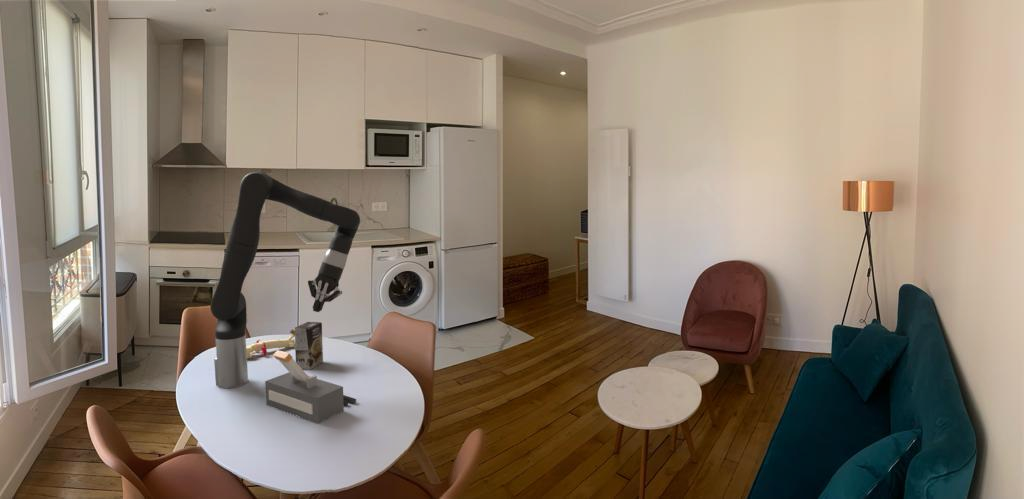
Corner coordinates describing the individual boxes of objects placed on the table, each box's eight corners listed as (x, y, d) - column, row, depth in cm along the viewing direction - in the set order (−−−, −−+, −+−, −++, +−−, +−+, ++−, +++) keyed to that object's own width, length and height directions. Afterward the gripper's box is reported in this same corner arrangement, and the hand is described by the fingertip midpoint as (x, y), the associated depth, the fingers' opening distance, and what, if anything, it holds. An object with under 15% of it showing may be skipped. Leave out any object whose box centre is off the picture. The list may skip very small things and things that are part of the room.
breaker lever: (300, 376, 166) (276, 349, 158) (313, 380, 164) (289, 353, 155) (296, 381, 165) (272, 355, 157) (309, 385, 162) (285, 358, 154)
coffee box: (310, 370, 197) (309, 328, 194) (295, 368, 198) (293, 327, 196) (323, 361, 206) (322, 322, 203) (309, 360, 207) (307, 320, 205)
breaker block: (308, 387, 181) (307, 357, 179) (358, 403, 169) (357, 371, 168) (265, 405, 167) (263, 372, 165) (316, 424, 155) (315, 389, 153)
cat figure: (290, 346, 227) (229, 355, 208) (291, 326, 226) (229, 334, 207) (301, 351, 220) (239, 362, 202) (302, 331, 220) (239, 340, 201)
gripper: (311, 257, 179) (293, 305, 177) (345, 268, 177) (327, 317, 175) (322, 259, 186) (305, 305, 185) (355, 270, 184) (338, 317, 182)
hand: (316, 311), depth 180 cm, fingers closed
